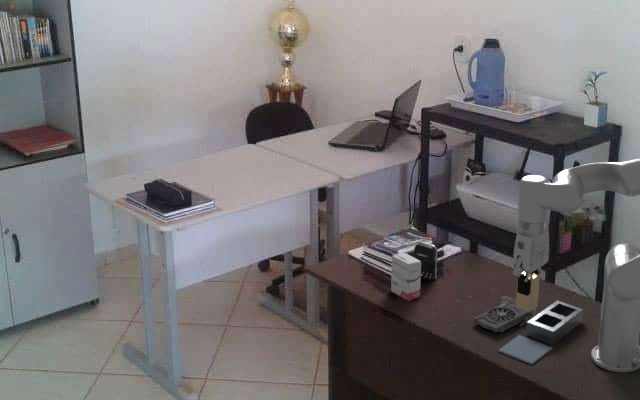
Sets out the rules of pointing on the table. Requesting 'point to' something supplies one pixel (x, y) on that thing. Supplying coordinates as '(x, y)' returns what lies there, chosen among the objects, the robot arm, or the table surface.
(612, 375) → the table surface
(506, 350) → the mat
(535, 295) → the brass peg
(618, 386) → the table surface
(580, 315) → the cinder block
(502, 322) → the graphics card
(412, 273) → the ink box
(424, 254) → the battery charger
